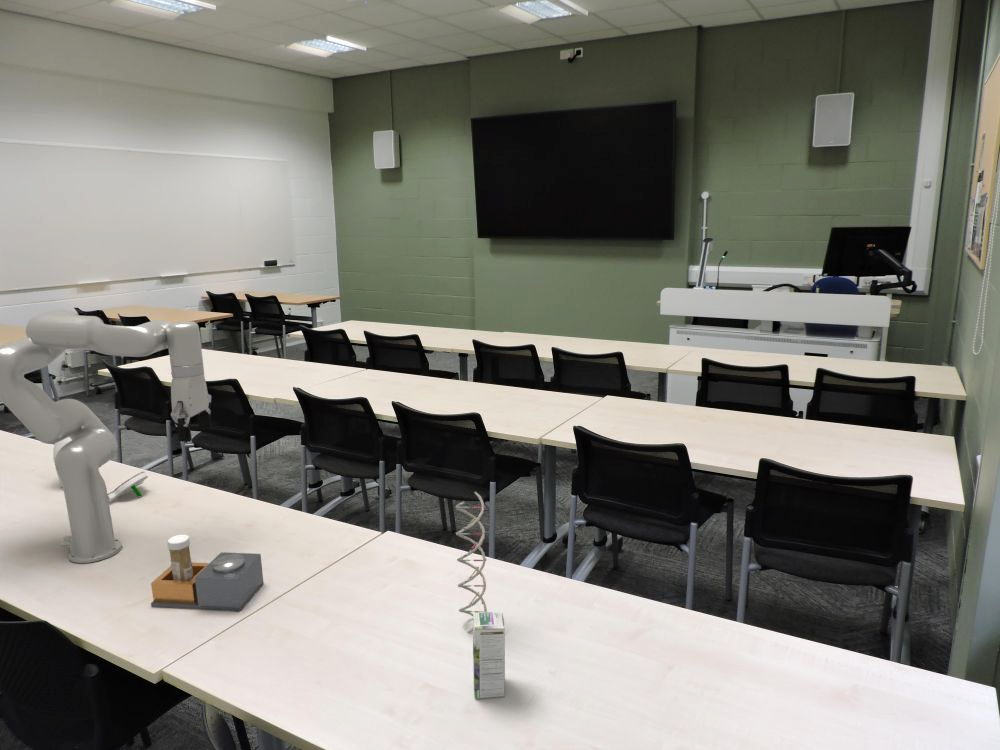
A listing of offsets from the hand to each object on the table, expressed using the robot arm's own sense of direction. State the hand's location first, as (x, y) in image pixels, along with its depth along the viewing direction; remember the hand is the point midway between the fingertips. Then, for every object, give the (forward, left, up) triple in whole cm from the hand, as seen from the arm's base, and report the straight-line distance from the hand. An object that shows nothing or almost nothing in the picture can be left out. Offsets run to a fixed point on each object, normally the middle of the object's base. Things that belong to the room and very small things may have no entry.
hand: (195, 435), depth 180 cm
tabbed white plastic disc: (-44, +33, -33) cm, 64 cm away
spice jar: (+6, -22, -32) cm, 39 cm away
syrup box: (+82, -49, -32) cm, 101 cm away
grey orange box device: (+12, -21, -32) cm, 40 cm away
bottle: (-68, +40, -32) cm, 85 cm away
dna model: (+76, -29, -32) cm, 88 cm away
